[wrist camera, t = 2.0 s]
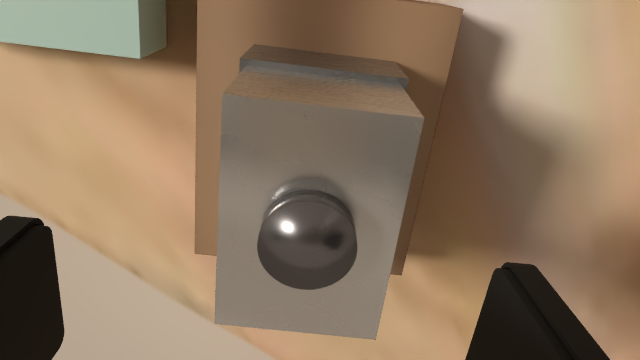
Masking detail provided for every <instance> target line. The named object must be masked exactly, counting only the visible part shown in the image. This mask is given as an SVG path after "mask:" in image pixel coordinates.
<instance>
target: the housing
mask: <svg viewBox="0 0 640 360" xmlns="http://www.w3.org/2000/svg"><path fill="white" fill-rule="evenodd" d="M408 80H409V78H408V77H407V76H406V75H405V74H404V72H403V71H402V70H401V69H400V67H399V66H398V65H397V64H396V63H395V61H387V60H379V59H371V58H363V57H355V56H347V55H339V54H331V53H323V52H315V51H307V50H299V49H291V48H283V47H274V46H266V45H258V44H254V45H253V46H252V47H251V48H249V49H248V50H247V51H246V52H245V53H244V54H243V55H242V56H241V57H240V65H239V75H238V76H237V77H236V78H235V79H234V81H233V82H232V83H231V84H230V85H229V86H228V88H227V89H226V90H225V91H224V92H223V93H222V114H221V144H220V174H219V204H218V234H217V264H216V294H215V324H221V325H231V326H242V327H252V328H262V329H272V330H282V331H292V332H302V333H313V334H323V335H333V336H343V337H353V338H363V339H373V340H376V336H377V331H378V327H379V322H380V318H381V313H382V309H383V304H384V299H385V295H386V290H387V286H388V281H389V277H390V272H391V268H392V263H393V258H394V254H395V249H396V245H397V240H398V236H399V231H400V227H401V222H402V217H403V213H404V208H405V204H406V199H407V195H408V190H409V186H410V181H411V177H412V172H413V167H414V163H415V158H416V154H417V149H418V145H419V140H420V136H421V131H422V126H423V122H424V117H423V115H422V114H421V113H420V111H419V110H418V108H417V107H416V105H415V104H414V103H413V101H412V100H411V98H410V97H409V96H408V94H407V93H406V90H407V85H408Z"/></svg>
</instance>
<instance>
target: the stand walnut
mask: <svg viewBox="0 0 640 360" xmlns="http://www.w3.org/2000/svg"><path fill="white" fill-rule="evenodd" d="M462 13H463V9H461V8H457V7H453V6H448V5H444V4H438V3H430V2H423V1H415V0H197V78H196V176H195V254H202V255H212V256H217V234H218V204H219V174H220V144H221V114H222V93H223V92H224V91H225V90H226V89H227V88H228V86H229V85H230V84H231V83H232V82H233V81H234V79H235V78H236V77H237V76H238V75H239V65H240V57H241V56H242V55H243V54H244V53H245V52H246V51H247V50H248V49H249V48H251V47H252V46H253V45H254V44H258V45H266V46H274V47H283V48H291V49H299V50H307V51H315V52H323V53H331V54H339V55H347V56H355V57H363V58H371V59H379V60H387V61H395V63H396V64H397V65H398V66H399V67H400V69H401V70H402V71H403V72H404V74H405V75H406V76H407V77H408V78H409V80H408V85H407V90H406V93H407V94H408V96H409V97H410V98H411V100H412V101H413V103H414V104H415V105H416V107H417V108H418V110H419V111H420V113H421V114H422V115H423V117H424V122H423V126H422V131H421V136H420V140H419V145H418V149H417V154H416V158H415V163H414V167H413V172H412V177H411V181H410V186H409V190H408V195H407V199H406V204H405V208H404V213H403V217H402V222H401V227H400V231H399V236H398V240H397V245H396V249H395V254H394V258H393V263H392V268H391V272H390V274H393V275H402V271H403V267H404V263H405V259H406V254H407V250H408V246H409V241H410V237H411V233H412V228H413V224H414V220H415V216H416V211H417V207H418V203H419V198H420V194H421V190H422V185H423V181H424V177H425V172H426V168H427V164H428V160H429V155H430V151H431V147H432V142H433V138H434V134H435V129H436V125H437V121H438V116H439V112H440V108H441V104H442V99H443V95H444V91H445V86H446V82H447V78H448V73H449V69H450V65H451V61H452V56H453V52H454V48H455V43H456V39H457V35H458V30H459V26H460V22H461V17H462Z"/></svg>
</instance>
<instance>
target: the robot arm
mask: <svg viewBox="0 0 640 360" xmlns="http://www.w3.org/2000/svg"><path fill="white" fill-rule="evenodd" d="M63 337H64V324H63V316H62V308H61V300H60V292H59V284H58V275H57V267H56V260H55V252H54V243H53V235H52V230H51V229H50V228H49V227H48V226H44V223H43V222H42V220H40V219H39V218H28V217H18V216H6V217H5V218H3V219H2V220H0V360H52V358H53V357H54V355H55V354H56V352H57V351H58V350H59V348H60V346H61V344H62V341H63ZM465 360H610V359H609V358H608V356H607V355H606V354H605V353H604V351H603V350H602V349H601V348H600V346H599V345H598V344H597V343H596V341H595V340H594V339H593V338H592V336H591V335H590V334H589V332H588V331H587V330H586V329H585V327H584V326H583V325H582V324H581V322H580V321H579V320H578V319H577V317H576V316H575V315H574V314H573V312H572V311H571V310H570V309H569V307H568V306H567V305H566V304H565V302H564V301H563V300H562V299H561V297H560V296H559V295H558V294H557V292H556V291H555V290H554V289H553V287H552V286H551V285H550V283H549V282H548V281H547V280H546V278H545V277H544V276H543V275H542V273H541V272H540V271H539V270H538V268H537V267H536V266H534V265H531V264H520V263H510V262H507V263H504V264H503V266H502V267H501V268H497V269H495V271H494V272H493V275H492V278H491V281H490V284H489V287H488V290H487V293H486V297H485V300H484V303H483V306H482V309H481V312H480V315H479V319H478V322H477V325H476V328H475V331H474V334H473V337H472V341H471V344H470V347H469V350H468V353H467V356H466V359H465Z"/></svg>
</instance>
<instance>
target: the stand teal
mask: <svg viewBox="0 0 640 360" xmlns="http://www.w3.org/2000/svg"><path fill="white" fill-rule="evenodd" d="M0 42H6V43H14V44H22V45H31V46H39V47H47V48H55V49H64V50H72V51H80V52H88V53H96V54H105V55H113V56H121V57H129V58H138V59H141V58H143V57H145V56H148V55H150V54H152V53H154V52H156V51H159V50H161V49H163V48H165V47H167V40H166V0H0Z"/></svg>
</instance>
